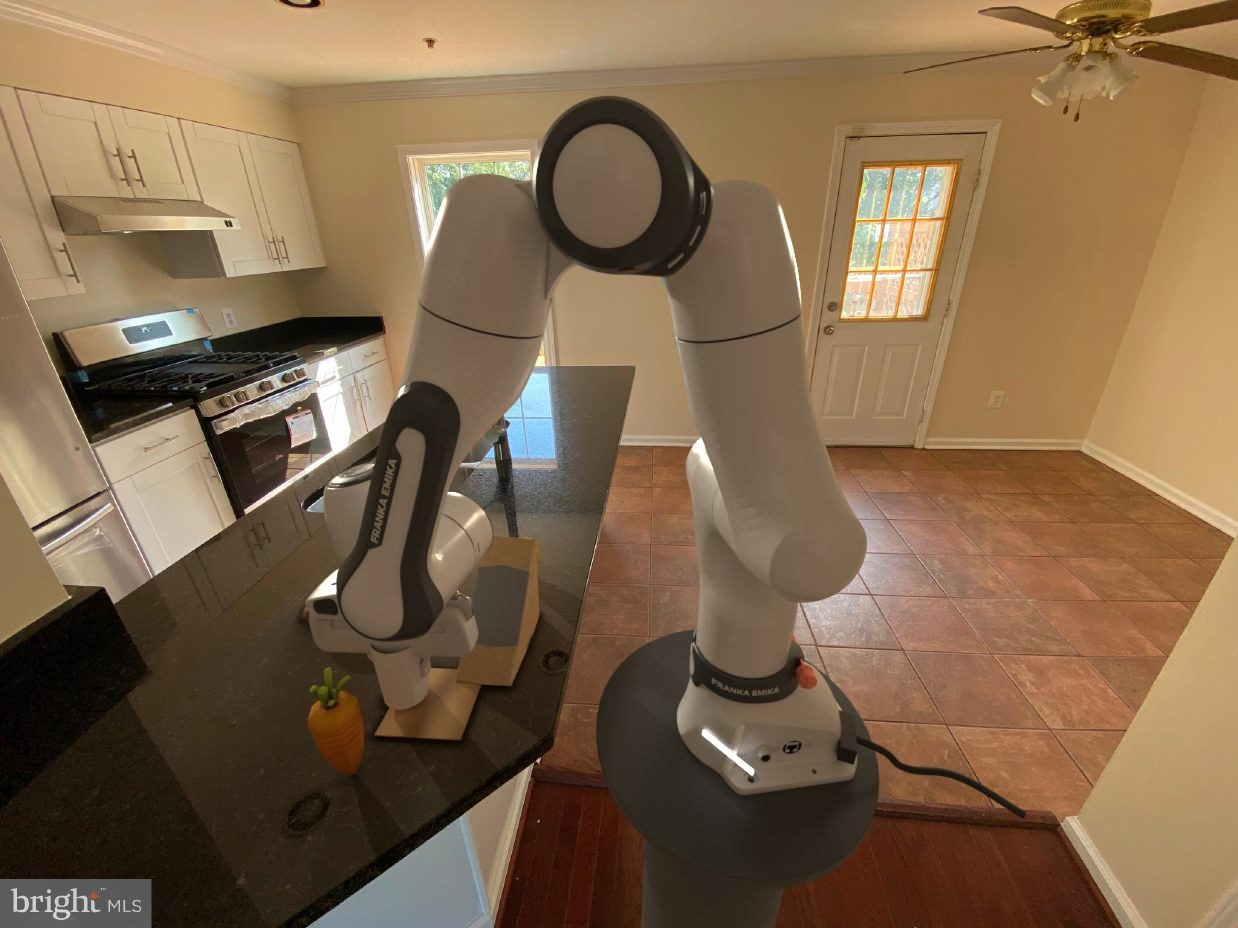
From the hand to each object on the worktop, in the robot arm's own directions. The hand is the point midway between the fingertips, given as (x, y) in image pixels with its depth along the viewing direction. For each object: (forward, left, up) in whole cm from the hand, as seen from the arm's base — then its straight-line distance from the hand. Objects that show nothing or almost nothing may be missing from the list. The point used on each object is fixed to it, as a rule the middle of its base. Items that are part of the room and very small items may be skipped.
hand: (406, 672), depth 67 cm
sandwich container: (-10, -10, -4) cm, 15 cm away
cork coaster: (-3, +1, -4) cm, 6 cm away
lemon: (-9, -28, -5) cm, 30 cm away
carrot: (+2, +11, -5) cm, 12 cm away
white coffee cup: (+1, 0, -4) cm, 4 cm away
